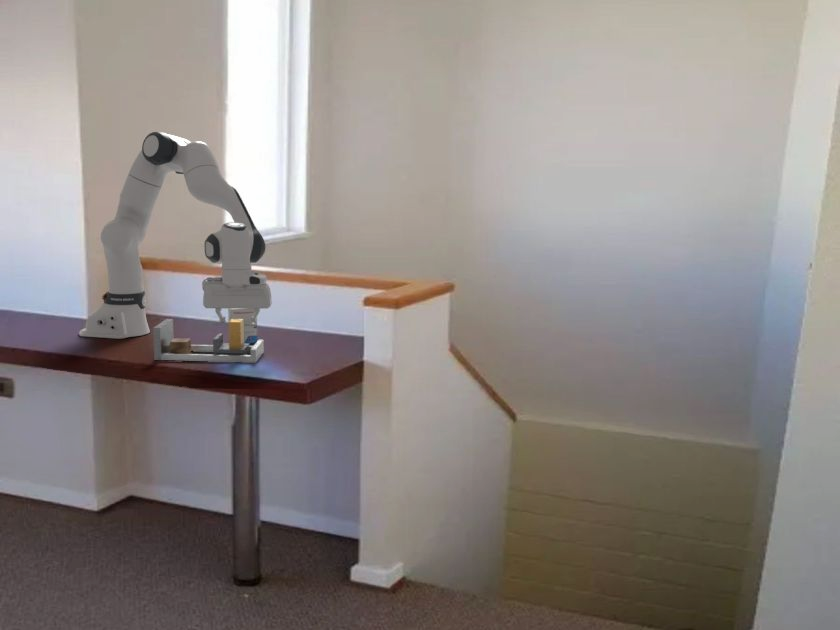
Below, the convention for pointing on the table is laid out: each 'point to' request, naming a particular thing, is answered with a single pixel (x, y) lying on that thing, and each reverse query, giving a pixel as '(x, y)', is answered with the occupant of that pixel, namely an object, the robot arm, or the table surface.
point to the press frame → (197, 348)
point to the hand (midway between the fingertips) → (238, 322)
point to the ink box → (245, 322)
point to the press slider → (232, 340)
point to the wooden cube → (180, 346)
